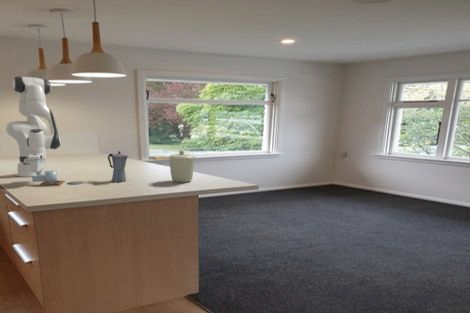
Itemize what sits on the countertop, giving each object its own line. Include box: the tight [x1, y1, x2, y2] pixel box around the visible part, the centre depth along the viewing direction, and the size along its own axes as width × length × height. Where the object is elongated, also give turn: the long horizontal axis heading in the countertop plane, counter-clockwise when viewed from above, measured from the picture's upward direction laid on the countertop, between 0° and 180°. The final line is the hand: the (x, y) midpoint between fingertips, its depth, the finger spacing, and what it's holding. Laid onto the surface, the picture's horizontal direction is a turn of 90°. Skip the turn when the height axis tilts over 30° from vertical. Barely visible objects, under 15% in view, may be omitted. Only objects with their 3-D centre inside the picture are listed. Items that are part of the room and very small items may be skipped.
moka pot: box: [107, 151, 129, 183], centre depth 217 cm, size 10×15×20 cm, turn 78°
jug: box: [31, 169, 58, 184], centre depth 201 cm, size 13×6×8 cm, turn 106°
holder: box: [36, 179, 66, 188], centre depth 203 cm, size 17×13×2 cm
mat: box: [66, 180, 85, 186], centre depth 206 cm, size 10×10×1 cm
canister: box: [167, 149, 196, 183], centre depth 218 cm, size 18×18×21 cm
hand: (39, 177), depth 205 cm, fingers closed
